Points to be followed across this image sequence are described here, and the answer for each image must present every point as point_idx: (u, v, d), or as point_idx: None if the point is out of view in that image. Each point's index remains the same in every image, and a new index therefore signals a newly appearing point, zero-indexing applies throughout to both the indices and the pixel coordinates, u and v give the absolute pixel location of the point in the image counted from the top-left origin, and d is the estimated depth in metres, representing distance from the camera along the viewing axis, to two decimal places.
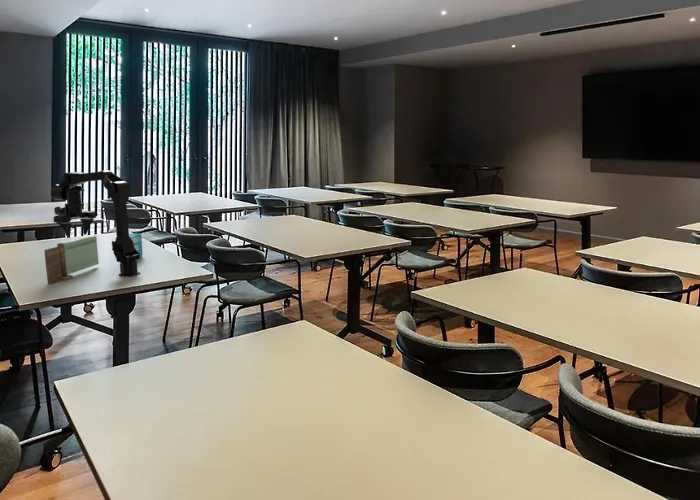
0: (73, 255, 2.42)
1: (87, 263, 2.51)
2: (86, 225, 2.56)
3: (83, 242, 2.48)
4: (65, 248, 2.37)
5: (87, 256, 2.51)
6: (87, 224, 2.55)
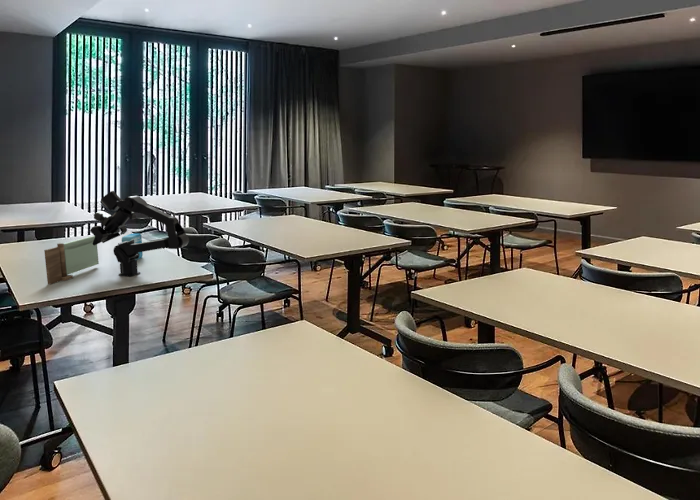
0: (73, 255, 2.42)
1: (87, 263, 2.51)
2: (109, 237, 2.48)
3: (83, 242, 2.48)
4: (65, 248, 2.37)
5: (87, 256, 2.51)
6: (111, 237, 2.48)
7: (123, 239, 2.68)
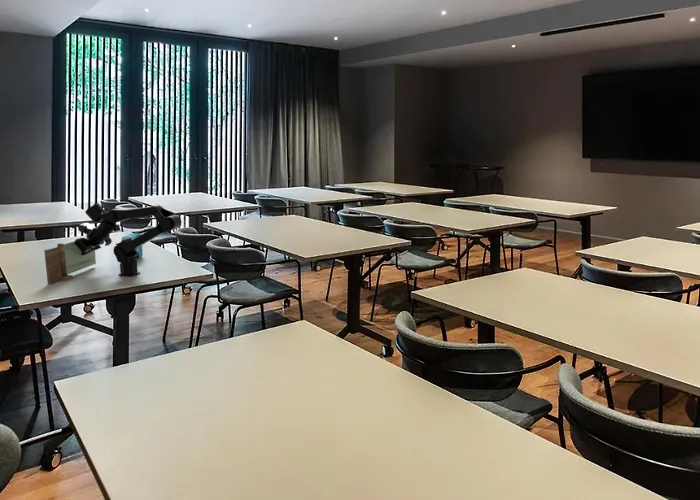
0: (72, 255, 2.42)
1: (85, 263, 2.51)
2: None
3: None
4: (65, 248, 2.37)
5: (85, 256, 2.51)
6: None
7: (123, 239, 2.68)
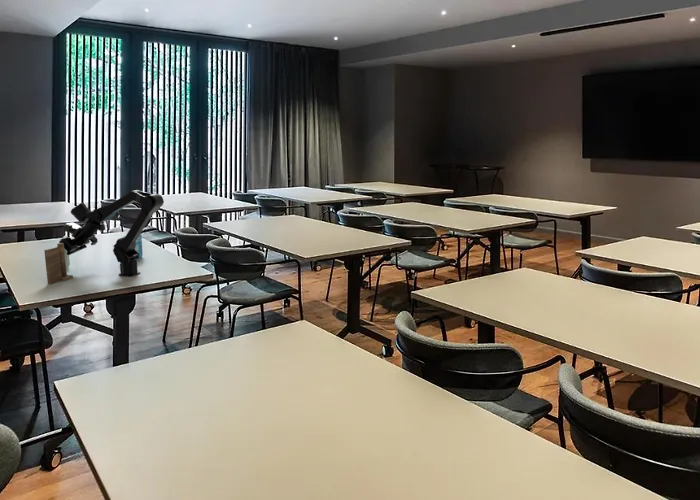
0: None
1: None
2: None
3: None
4: None
5: (67, 256, 2.51)
6: None
7: None
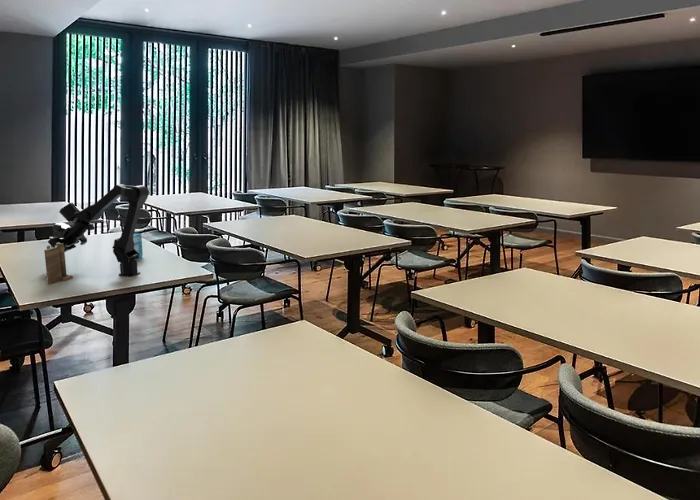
0: None
1: None
2: None
3: None
4: None
5: None
6: None
7: None
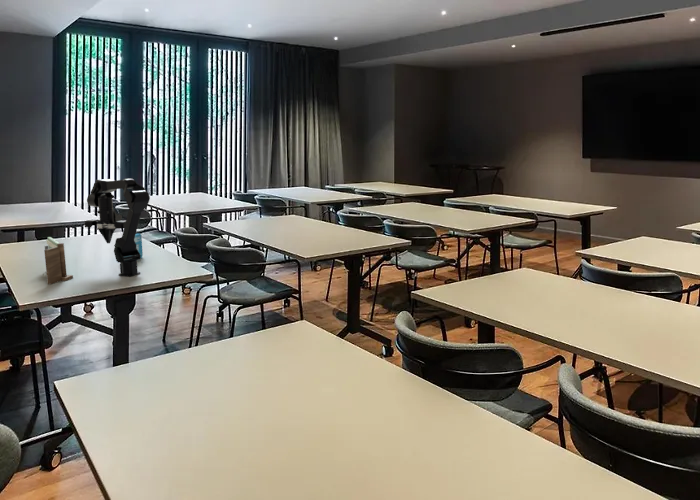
0: None
1: None
2: None
3: None
4: None
5: None
6: None
7: None
